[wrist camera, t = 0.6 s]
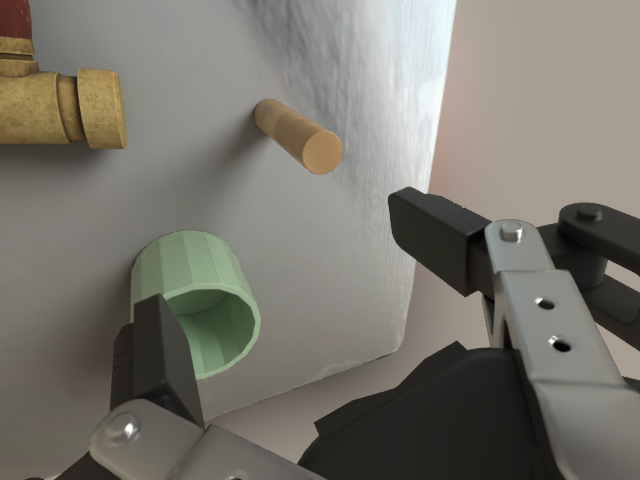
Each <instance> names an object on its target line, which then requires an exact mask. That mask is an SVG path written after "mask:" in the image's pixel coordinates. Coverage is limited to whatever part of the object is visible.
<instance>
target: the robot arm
mask: <svg viewBox="0 0 640 480" xmlns="http://www.w3.org/2000/svg"><path fill="white" fill-rule="evenodd" d="M388 205H389V213H390V221H391V229H392V234H393V237H394V240H395V241H396V243H397V244H398V246H399V247H400V248H401V249H403V250H404V251H405V252H407V253H408V254H409V255H411V256H412V257H413V258H415V259H416V260H417V261H418V262H420V263H421V264H422V265H424V266H425V267H426V268H428V269H429V270H430V271H432V272H433V273H434V274H436V275H437V276H438V277H439V278H441V279H442V280H443V281H444V282H446V283H447V284H448V285H450V286H451V287H452V288H454V289H455V290H456V291H458V292H459V293H460V294H462V295H463V296H464V297H467V296H469V295H470V294H472V293H474V292H476V291H480V292H481V293H482V305H483V310H484V315H485V321H486V326H487V331H488V337H489V342H490V347H489V348H477V349H471V350H467V349H466V348H464V346H462V345H461V344H460V343H459V342H458V341H455V342H454V343H452V344H450V345H448V346H447V347H445V348H443V349H441V350H440V351H438V352H436V353H434V354H433V355H431V356H429V357H427V358H426V359H424V360H423V361H422V362H421V363H420V364H419V365H418V366H417V367H416V368H415V369H414V370H413V371H412V372H411V373H410V374H409V375H408V376H407V378H406V379H405V380H403V381H402V383H401V384H400V385H398V386H397V387H396V388H394V389H391V390H387V391H384V392H380V393H377V394H374V395H370V396H367V397H363V398H360V399H356V400H353V401H351V402H349V403H347V404H345V405H344V406H342V407H340V408H338V409H337V410H335V411H333V412H331V413H330V414H328V415H326V416H324V417H323V418H321V419H319V420H318V421H316V422H314V424H315V427H316V429H317V432H318V434H319V436H318V437H317V438H316V439H315V440H314V441H313V442H312V443H311V445H310V446H309V447H308V448H307V449H306V451H305V452H304V453H303V455H302V457H301V458H300V460H299V461H298V463H297V464H295V463H293V462H291V461H289V460H287V459H285V458H283V457H281V456H279V455H277V454H275V453H273V452H271V451H269V450H266V449H264V448H262V447H260V446H258V445H256V444H254V443H252V442H250V441H248V440H246V439H244V438H242V437H240V436H238V435H236V434H234V433H232V432H230V431H228V430H226V429H224V428H222V427H220V426H217V425H213V424H210V425H209V426H208V427H207V429H205V426H204V420H203V415H202V409H201V404H200V399H199V393H198V388H197V382H196V377H195V372H194V366H193V361H192V356H191V350H190V345H189V342H188V339H187V336H186V334H185V332H184V330H183V328H182V326H181V325H180V323H179V321H178V320H177V318H176V316H175V315H174V313H173V312H172V310H171V308H170V307H169V305H168V303H167V302H166V300H165V298H164V297H163V295H162V294H161V293H157V294H155V295H153V296H150V297H148V298H146V299H143V300H141V301H139V302H136V303H135V304H134V322H133V323H130V324H128V325H126V326H124V327H122V329H121V330H120V332H119V334H118V336H117V338H116V340H115V342H114V352H113V357H114V359H113V371H112V383H111V399H110V413H109V414H108V415H107V416H105V417H104V419H103V420H102V421H101V422H100V423H99V425H98V426H97V428H96V429H95V431H94V433H93V435H92V438H91V441H90V448H89V449H90V450H89V451H88V452H87V453H86V454H85V455H84V456H83V457H82V458H81V459H80V460H78V461H77V462H76V463H75V464H73V465H72V466H71V467H69V468H68V469H67V470H66V471H64V472H63V473H62V474H61V475H59V476H58V477H57V478H56V479H54V480H640V380H636V379H631V378H628V377H624V376H621V374H620V372H619V370H618V368H617V366H616V364H615V362H614V360H613V358H612V356H611V354H610V352H609V350H608V348H607V346H606V344H605V342H604V340H603V338H602V336H601V334H600V332H599V330H598V328H597V326H596V324H595V322H596V323H598V324H599V325H601V326H602V327H604V328H605V329H607V330H608V331H610V332H611V333H613V334H614V335H616V336H617V337H619V338H620V339H622V340H623V341H625V342H626V343H628V344H629V345H631V346H632V347H634V348H636V349H637V350H639V351H640V293H639V292H638V291H636V290H634V289H632V288H630V287H628V286H626V285H625V284H623V283H621V282H619V281H617V280H615V279H613V278H612V277H610V276H608V275H606V274H604V273H605V269H606V266H607V262H608V260H610V261H612V262H614V263H616V264H618V265H620V266H622V267H624V268H626V269H628V270H630V271H632V272H634V273H636V274H637V275H638V276H639V277H640V219H638V218H636V217H633V216H631V215H628V214H625V213H623V212H620V211H618V210H615V209H612V208H610V207H607V206H604V205H600V204H596V203H574V204H570V205H567V206H565V207H564V208H562V209H561V211H560V214H559V219H558V223H554V224H549V225H545V226H540V227H535V226H533V225H532V224H530V223H528V222H525V221H522V220H516V219H503V220H498V221H495V222H492V221H490V220H487V219H486V218H484V217H482V216H480V215H478V214H476V213H474V212H472V211H470V210H468V209H466V208H462V207H461V206H460V205H458V204H456V203H454V204H453V202H452V201H450V200H448V199H445V198H444V197H442V196H437V195H432V194H424V193H422V192H420V191H418V190H416V189H414V188H412V187H406V188H404V189H401V190H399V191H397V192H394V193H392V194H390V195H389V197H388ZM594 321H595V322H594ZM25 480H44V479H41V478H36V477H34V478H28V479H25Z"/></svg>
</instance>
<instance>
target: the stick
mask: <svg viewBox="0 0 640 480" xmlns="http://www.w3.org/2000/svg"><path fill="white" fill-rule="evenodd" d="M254 118H255V122H256V124H257V125H258V127H259V128H260V129H262V130H263V131H264V132H265V133H266V134H267V135H268V136H270V137H271V138H272V139H273V140H274V141H275V142H276V143H278V144H279V145H280V146H281V147H282V148H283V149H284V150H286V151H287V152H288V153H289V154H290V155H291V156H292V157H294V158H295V159H296V160H297V161H298V162H299V163H300V164H302V165H303V166H304V167H305V168H306V169H307V170H308V171H310V172H311V173H314V174H326V173H328V172H330V171H332V170H333V169H334V168H335V167H336V166H337V165H338V163H339V162H340V160H341V157H342V144H341V141H340V139H339V138H338V137H337V136H336V135H335V134H334V133H332V132H330V131H329V130H327V129H325V128H323V127H322V126H320V125H318V124H317V123H315V122H313V121H311V120H310V119H308V118H306V117H304V116H303V115H301V114H299V113H297V112H296V111H294V110H292V109H291V108H289V107H287V106H285V105H284V104H282V103H280V102H278V101H277V100H274V99H265V100H263V101H261V102H260V103H259V104H258V105H257V107H256V109H255V113H254Z"/></svg>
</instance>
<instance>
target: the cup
mask: <svg viewBox="0 0 640 480" xmlns="http://www.w3.org/2000/svg"><path fill="white" fill-rule="evenodd" d="M157 293H161V294H162V295H163V297H164V298H165V300H166V302H167V303H168V305H169V307H170V308H171V310H172V312H173V313H174V315H175V316H176V318H177V320H178V321H179V323H180V325H181V326H182V328H183V330H184V332H185V334H186V336H187V339H188V342H189V345H190V350H191V356H192V361H193V366H194V372H195V377H196V380H198V379H205V378H208V377H210V376H213V375H215V374H217V373H220V372H222V371H225V370H227V369H229V368H230V367H231V366H233V365H234V364H235V363H237V362H238V361H239V360H240V359H242V358H243V357H244V356H246V355H247V353H248V352H249V350H250V349H251V347H252V346H253V344H254V343H255V342H256V340H257V338H258V334H259V330H260V325H261V317H260V314H259V310H258V307H257V304H256V301H255V299H254V297H253V294H252V292H251V290H250V287H249V285H248V283H247V280H246V278H245V276H244V273H243V271H242V268H241V266H240V264H239V261H238V259H237V257H236V255H235V253H234V252H233V250H232V249H231V248H230V246H229V245H228V244H227V243H226V242H224V241H223V240H222V239H220V238H219V237H217V236H215V235H212V234H209V233H206V232H202V231H194V230H185V231H177V232H173V233H170V234H167V235H164V236H162V237H160V238H158V239H156V240H154V241H153V242H151V243H150V244H149V245H148V246H146V247H145V248H144V249H143V250H142V251H141V253H140V254H139V255H138V257H137V258H136V260H135V262H134V264H133V268H132V271H131V302H130V323H133V322H134V304H135V303H136V302H139V301H141V300H143V299H146V298H148V297H150V296H153V295H155V294H157Z"/></svg>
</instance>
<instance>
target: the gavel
mask: <svg viewBox="0 0 640 480" xmlns="http://www.w3.org/2000/svg"><path fill="white" fill-rule="evenodd" d="M32 55H35V52H34V47H33V43H32V30H31V12H30V7H29V2H28V0H0V143H43V144H71V143H72V141H88V143H89V146H90V147H91V149H124V148H125V146H126V145H127V134H126V123H125V114H124V107H123V99H122V93H121V87H120V82H119V77H118V75H117V74H116V73H115V72H114V71H111V70H97V69H84V68H79V69H78V73H77V77H73V76H61V75H60V73H57V72H42V71H39V68H38V63H37V61H33V58H32Z"/></svg>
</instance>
